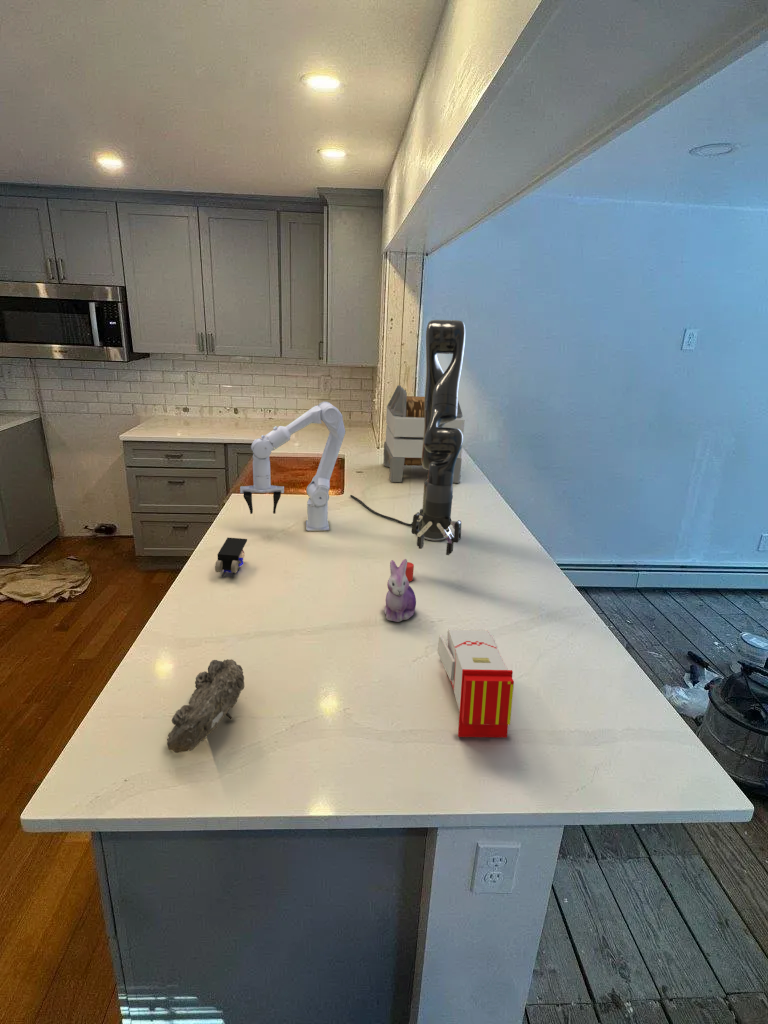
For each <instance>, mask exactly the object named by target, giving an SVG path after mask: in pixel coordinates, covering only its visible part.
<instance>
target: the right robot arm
mask: <svg viewBox="0 0 768 1024" xmlns="http://www.w3.org/2000/svg"><path fill="white" fill-rule="evenodd" d="M426 326H427V327H426V330H425V363H426V365H425V366H426V367H425V369H426V370H425V374H426V375H425V385H424V386H425V387H424V397H425V402H424V436H423V446H422V457H421V460H422V466H421V467H422V468H423V470H426V471H427V470H428V471H427V479H425V480H424V482H423V493H422V496H423V497H422V506H421V508H420V509H419V512H416V513H415V514H413V516H412V522H411V523H408V522H404V521H402V520H399V519H397V518H395V517H391V516H388V515H386V514H385V515H384V514H382V513H379V512H377V511H375V510H373V509H372V508H370V507H369V506H368V505H367V504H366V503H365V502H364V501H362V500H361V499H359V498H358V497H356V496H354V495H352V494H350V496H349V497H350V498H352V499H354V500H355V501H357V502H359V503H360V504H361V505H362V506H363V507H364V508H365V509H367V510H368V511H370V513H372V514H374V515H377V516H379V517H382V518H384V519H387V520H391V521H394V522H397V523H398V524H400V525H405V526H406V527H411V534H413V535H416V546H417V548H418V549H419V550H422V549H423V548H424V542H425V541H424V540H426V541H432V542H440V541H444V540H446V541H447V542H446V551H445V555H446V556H450V555H451V554H452V553H453V552H454V543H455V544H458V543H459V542H460V541H461V540H462V538H461V537H462V521H461V520H459V519H458V520H452V504H453V498H454V495H453V493H454V489H453V488H454V487H453V484H454V483H453V474H454V467H455V463H456V460H457V457H458V454H459V452H460V450H461V447H462V448H463V445H464V433H463V434H462V432H461V431H460V430H459V429H457V428H444V427H443V426H444V425H445V424H446V423H449V422H452V421H454V420H455V419H456V417H457V406H458V402H459V388H460V387H459V386H460V380H461V374H462V368H463V361H464V355H465V354H464V352H465V345H466V326H465V323H464V321H462V320H457V319H452V320H451V319H431V320H430V321H429V322H428V323H427V325H426ZM439 354H442V355H443V354H444V355H452V357H451V359H450V363H449V364H448V366H447V368H446V369H445V371H444V370H443V368H442V366H441V364H440V361H439V357H438V355H439ZM450 526H452V529H453V530H454V531H453V532H454V533H453V534H454V535H453V534H452V530H451V528H450Z"/></svg>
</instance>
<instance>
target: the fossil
mask: <svg viewBox="0 0 768 1024" xmlns="http://www.w3.org/2000/svg"><path fill="white" fill-rule="evenodd" d="M243 670H244V669H243V667H242V665H240V664H237V662H236V661H235V660H234V659H232V658H231V659H227V658H226V659H224V660H223V661H222V660H217V659H212V660H211V661H210V663H209V665H208V666H207V671H201V672H199V673H198V674H197V675H196V676H195V680H194V684H195V685H194V687H195V689H194V690H193V693H192V694H191V697H190V698H189V700H188V704H184V705H182V706H181V707H180V709H177V710H176V711H175V713H174V715H173V716H172V718H171V723H172V724H173V727H172V730H171V731H170V732H168V734H167V738H166V741H167V742H166V745H167V749H168V750H169V751H173V752H174V753H176V754H178V753H182V752H188V751H189V752H192V751H193V750H195V748H196V747H197V746H199V744H200V743H201V742H203V741H204V740H205V739H206V738H207V737H208V736H209V735H210V734H211V733H212V732H214V730H215V729H217V727H218V726H219V724H220V722H221V721H222V720H223V719H224V718H225V716H226V717H227V719H229V720H233V717H232V715H230V714H229V710H230V709H231V708H234V706H235V704H236V703H237V702H238V699H239V697H240V695H241V693H242V691H243V690H245V689H244V688H245V675H244V671H243Z"/></svg>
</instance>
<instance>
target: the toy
mask: <svg viewBox="0 0 768 1024" xmlns="http://www.w3.org/2000/svg"><path fill="white" fill-rule="evenodd" d="M446 640H447V643H446V641H445V639H444V636H443V635H442V634H439V637H438V646H437V656H438V657H439V659H440V661H441V663H442V666H443V668H444V670H445V672H446V674H447V677H448V679H449V681H450V684H451V687H452V690H453V693H454V697H455V701H456V705H457V708H458V711H459V714H458V715H459V716H458V730H457V731H458V732H457V737H458V738H508V731H509V726H510V725H511V717H512V707H513V697H514V696H513V695H514V684H515V680H514V679H513V673H514V671H513V670H512V669H508V667H507V665H506V662H505V661H504V659H503V658H502V655H501V653H500V651H499V649H498V647H497V643H496V639H495V637H494V635H493V634H491V632H490V631H489V629H467V628H466V629H465V628H463V629H461V628H460V629H459V628H448V630H447V639H446Z"/></svg>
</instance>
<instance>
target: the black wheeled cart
mask: <svg viewBox="0 0 768 1024" xmlns="http://www.w3.org/2000/svg"><path fill="white" fill-rule="evenodd" d="M247 542H248V538H240V537H226V539H225V541H224V543H223V544H222V546H221V547H220V549H219V551H218V552H217V560H216V562H215V564H214V572H215V573H221V577H222V578H224V577H225V576H226V574H227V573H230V574H231V573H232V574H231V578H234V577H235V575H236V573H237V572H239V571H240V567H242V566H243V565H244V564H245V562H244V558H245V551H244V547H245V546H246V544H247Z"/></svg>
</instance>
